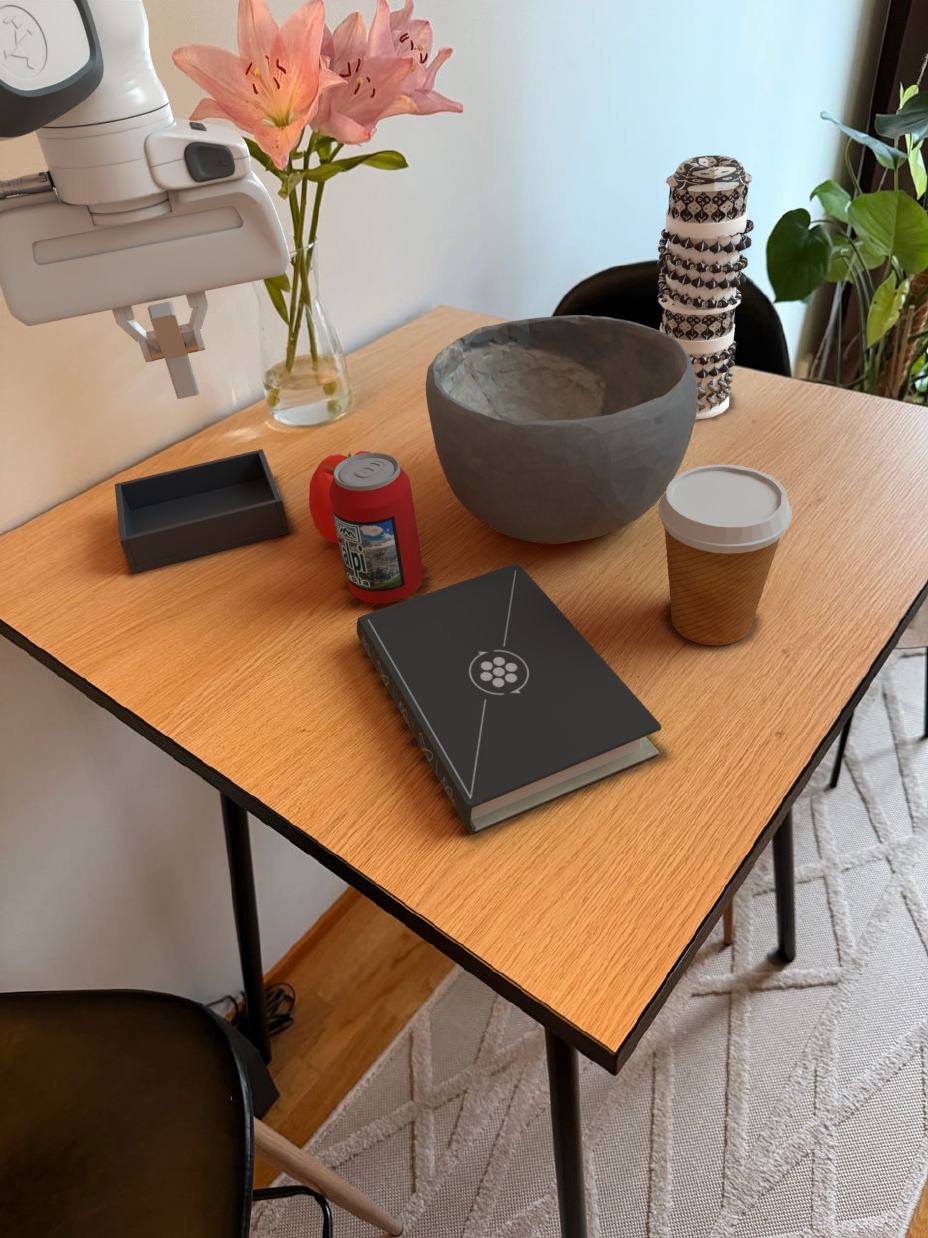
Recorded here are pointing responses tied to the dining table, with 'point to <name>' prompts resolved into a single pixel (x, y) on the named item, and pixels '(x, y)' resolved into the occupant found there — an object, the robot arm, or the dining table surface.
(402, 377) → the dining table surface
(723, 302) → the patterned white cylinder
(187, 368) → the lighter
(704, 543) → the disposable coffee cup
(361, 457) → the beverage can
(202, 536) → the tray
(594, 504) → the bowl
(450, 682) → the book
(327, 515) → the tomato
